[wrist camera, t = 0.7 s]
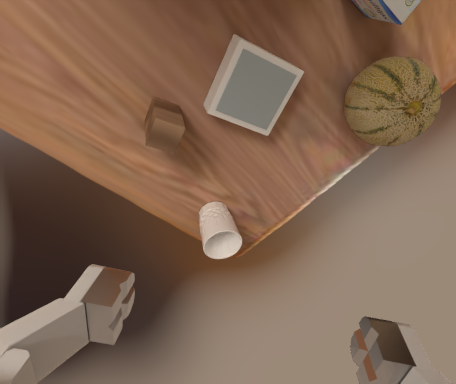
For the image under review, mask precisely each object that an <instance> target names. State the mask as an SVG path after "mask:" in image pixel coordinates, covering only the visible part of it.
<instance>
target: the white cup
mask: <svg viewBox="0 0 456 384" xmlns="http://www.w3.org/2000/svg"><path fill="white" fill-rule="evenodd" d="M199 221H200V231H201V238H202V243H203V249H204V252H205V254H206V255H207V256H209V257H210V258H214V259H223V258H227V257H230V256H232V255H234V254H235V253H236V252H237V251H238V250H239V249H240V248H241V246H242V238H241V235H240V233H239V231H238V229H237V226H236V224H235V222H234V220H233V218H232V215H231V214H230V212H229V210H228V208H227V206H226V205H225V204H223V203H222V202H215V201H214V202H210V203H207V204H206V205H204V206H203V207H202V208H201V210H200V211H199Z"/></svg>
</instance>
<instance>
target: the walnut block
mask: <svg viewBox="0 0 456 384" xmlns="http://www.w3.org/2000/svg"><path fill="white" fill-rule="evenodd" d="M184 131H185V125H184V121H183V118H182V114H181V111H180V107H179V106H178V105H176V104H173V103H170V102H168V101H165V100H162V99H160V98H157V97H154V96H153V98H152V101H151V104H150V107H149V110H148V113H147V116H146V119H145V137H146V145H147V146H150V147H153V148H157V149H160V150H164V151H167V152H170V153H174V154H175V152H176V150H177V147H178V145H179V143H180V140H181V138H182V135H183V133H184Z"/></svg>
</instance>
